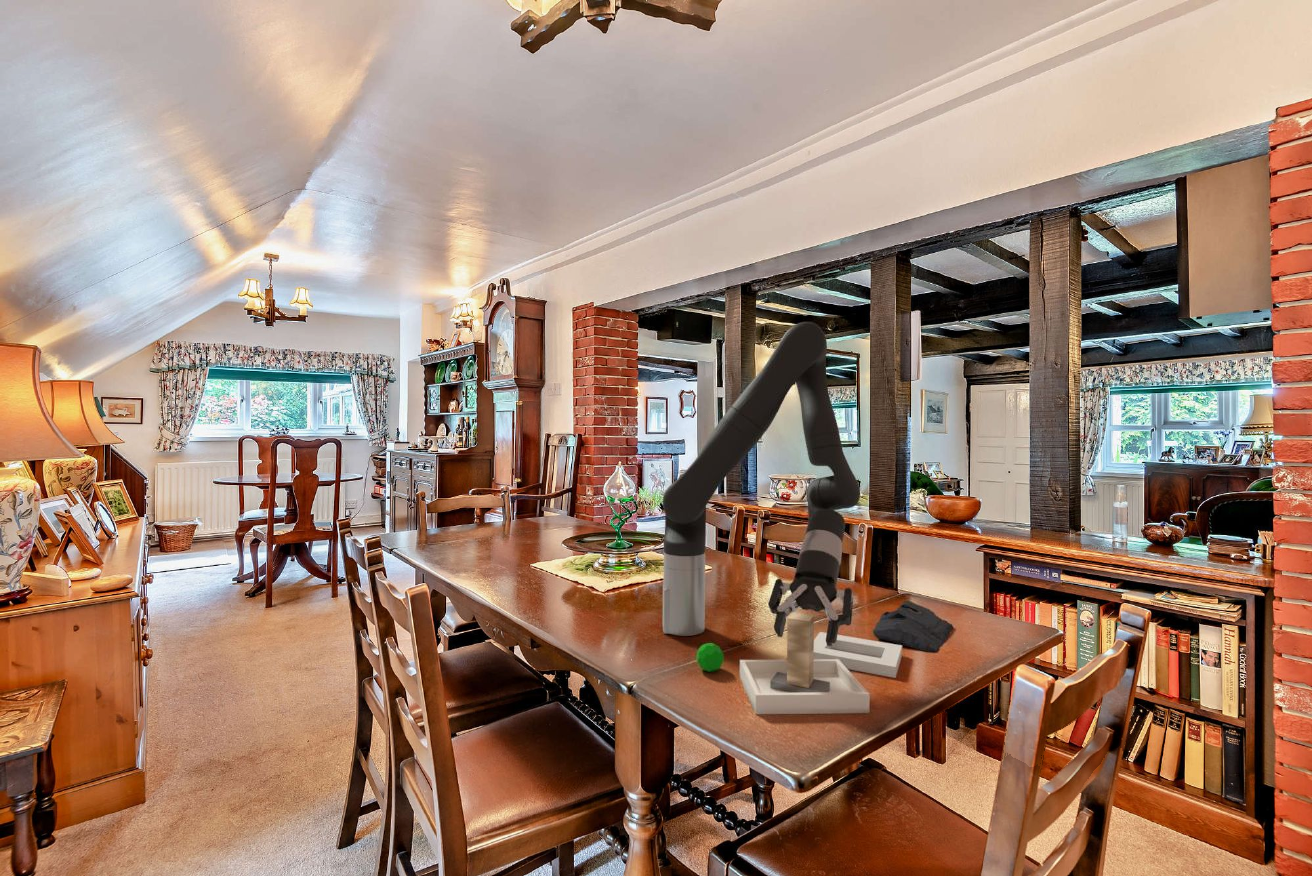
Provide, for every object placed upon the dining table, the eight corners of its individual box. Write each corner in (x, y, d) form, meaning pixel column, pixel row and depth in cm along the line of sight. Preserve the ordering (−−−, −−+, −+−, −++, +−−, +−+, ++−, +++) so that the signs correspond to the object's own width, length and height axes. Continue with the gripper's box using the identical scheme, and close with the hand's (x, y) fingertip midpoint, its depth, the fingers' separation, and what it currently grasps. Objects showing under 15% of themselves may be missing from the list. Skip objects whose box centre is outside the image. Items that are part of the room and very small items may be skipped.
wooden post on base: (770, 688, 99) (770, 616, 99) (777, 678, 103) (778, 609, 103) (824, 699, 95) (825, 624, 95) (829, 689, 99) (830, 617, 99)
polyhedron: (690, 669, 108) (691, 644, 108) (708, 662, 112) (708, 637, 112) (711, 678, 105) (711, 651, 105) (728, 670, 108) (729, 644, 108)
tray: (755, 714, 91) (755, 695, 91) (739, 676, 105) (739, 659, 105) (869, 713, 92) (869, 694, 92) (838, 675, 106) (838, 659, 106)
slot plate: (806, 661, 113) (806, 650, 113) (819, 641, 123) (820, 631, 123) (895, 678, 105) (895, 667, 105) (902, 655, 116) (902, 645, 116)
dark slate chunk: (860, 641, 125) (860, 619, 125) (886, 615, 143) (886, 595, 143) (938, 657, 116) (939, 633, 116) (955, 627, 134) (956, 606, 134)
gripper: (778, 544, 112) (758, 621, 102) (856, 552, 105) (843, 636, 95) (786, 566, 116) (767, 642, 106) (861, 575, 110) (848, 657, 100)
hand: (803, 639), depth 101 cm, fingers open, 8 cm apart
